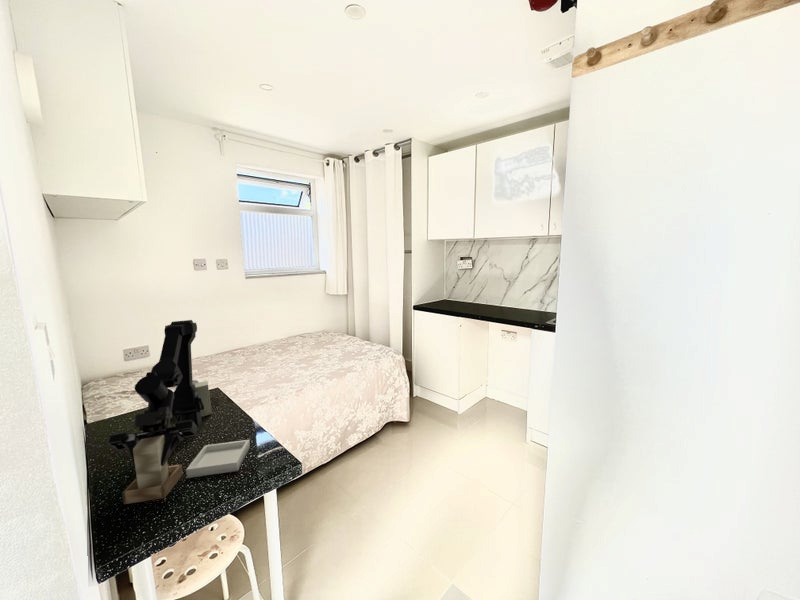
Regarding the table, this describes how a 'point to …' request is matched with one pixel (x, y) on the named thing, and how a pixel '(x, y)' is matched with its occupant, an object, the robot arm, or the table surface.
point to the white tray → (218, 458)
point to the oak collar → (152, 488)
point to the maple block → (150, 462)
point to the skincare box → (204, 397)
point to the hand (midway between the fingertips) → (149, 468)
